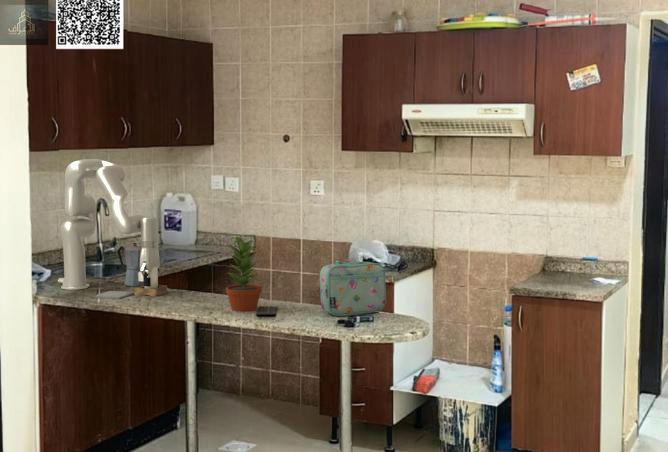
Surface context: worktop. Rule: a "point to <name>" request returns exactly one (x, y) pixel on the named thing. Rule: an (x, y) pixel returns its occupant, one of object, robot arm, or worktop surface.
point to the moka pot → (131, 265)
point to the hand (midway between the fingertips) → (150, 284)
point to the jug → (151, 278)
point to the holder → (151, 291)
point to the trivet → (114, 294)
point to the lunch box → (352, 288)
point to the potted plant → (243, 279)
